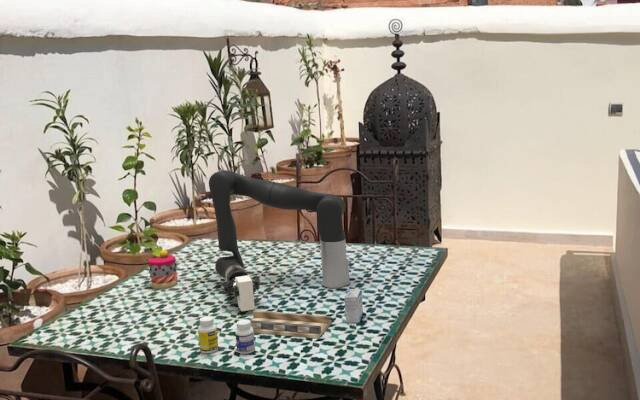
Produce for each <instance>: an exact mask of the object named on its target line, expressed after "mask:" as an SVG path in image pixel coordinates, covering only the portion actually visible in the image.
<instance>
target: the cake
mask: <svg viewBox="0 0 640 400" xmlns="http://www.w3.org/2000/svg"><path fill="white" fill-rule="evenodd" d="M151 252H152V253H151V255H152V257H150V258H149V259H148V260H147V263H148V267H149V270H148V273H149V276H148V277H149V278H151V279H150V284H151V288H152V289H155V290H166V289H171V288H174V287H176V286H177V285H178V276H179V274H178V271H177V263H176V257H175V255H172V254H169V252H168V251H167V250H166V249H163V247H162V246H161V245H159V246H158V247H156V246H153V247H151Z"/></svg>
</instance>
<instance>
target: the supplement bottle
mask: <svg viewBox="0 0 640 400" xmlns="http://www.w3.org/2000/svg"><path fill="white" fill-rule="evenodd" d="M214 322H215V320H214V317H213V316H208V315H207V316H203V317H200V318H199V326H198V327H197V334H198V345H199V346H198V347H199V351H200V353H202V354H211V353H212V354H213V353H215V352H217V351H218V350H219V340H218V339H219V338H218V328H217V325H216V324H215V323H214Z"/></svg>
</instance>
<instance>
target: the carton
mask: <svg viewBox="0 0 640 400" xmlns="http://www.w3.org/2000/svg"><path fill="white" fill-rule="evenodd" d="M235 279H236V287H237V288H238V289H239V296H237V295H236V297H237V306H238V308H239V309H240V312H246V311H251V310H252V311H254V310H255V308H256V306H255V297H254V294H253V284H252V280H253V279H252V277H250V275H249V274H248V275H246V276H240V277H235ZM251 279H252V280H251Z"/></svg>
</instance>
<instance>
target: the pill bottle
mask: <svg viewBox="0 0 640 400" xmlns="http://www.w3.org/2000/svg"><path fill="white" fill-rule="evenodd" d="M250 320H251V319H246V318H245V319H239V320H238V321H237V322H236V329H235V334H234V335H235V341H236V342H235V343H236V344H235V346H236V352H237V353H239V354H241V355H243V354H244V355H247V354H251V353H253V352H255V350H256V344H255V333H254V331H253V328H252V327H250V326H251V322H250Z"/></svg>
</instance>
